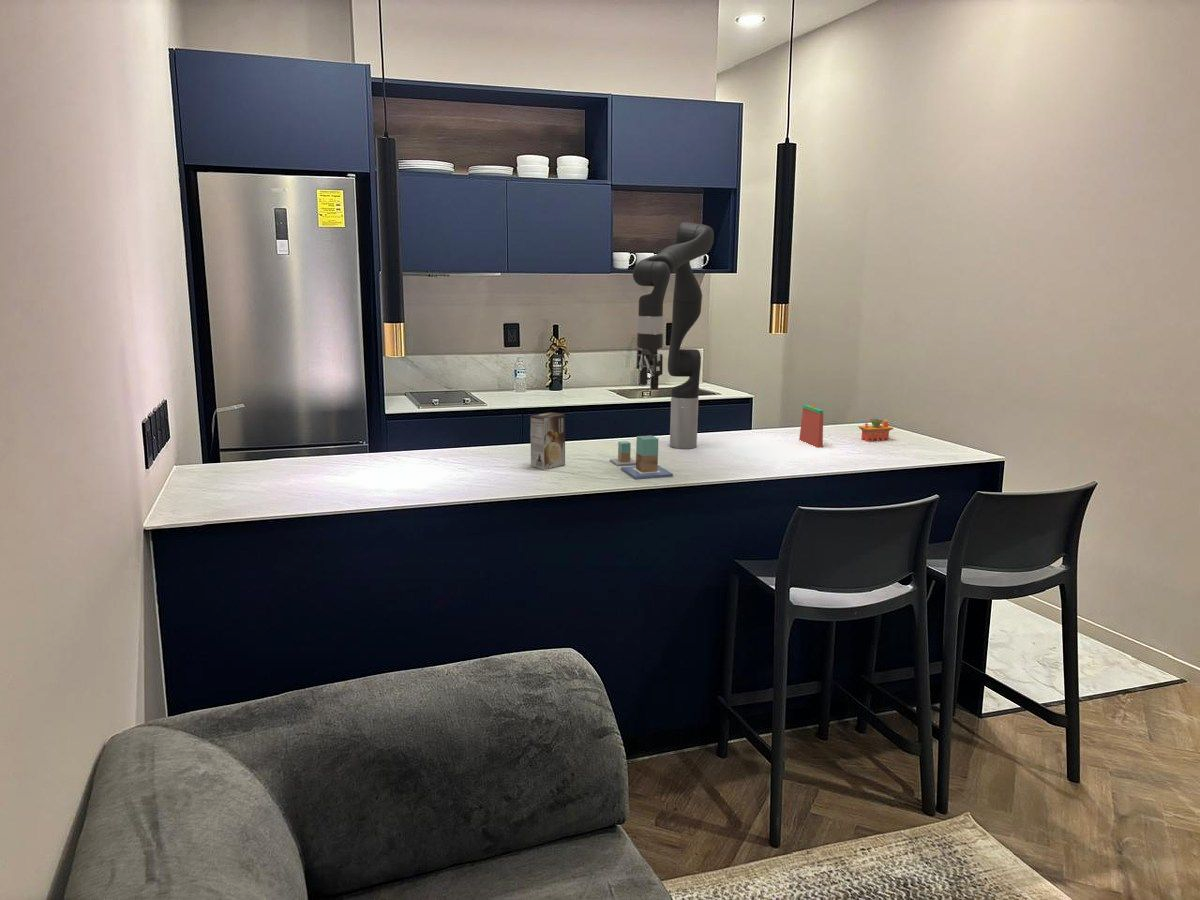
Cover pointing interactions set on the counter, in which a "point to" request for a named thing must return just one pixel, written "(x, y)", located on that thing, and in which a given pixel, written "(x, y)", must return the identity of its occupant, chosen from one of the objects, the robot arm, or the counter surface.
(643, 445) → the teal cube
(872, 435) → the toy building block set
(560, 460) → the coffee box
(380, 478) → the counter surface
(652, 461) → the walnut cube
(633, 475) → the board
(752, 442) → the counter surface
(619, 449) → the stacked block model
